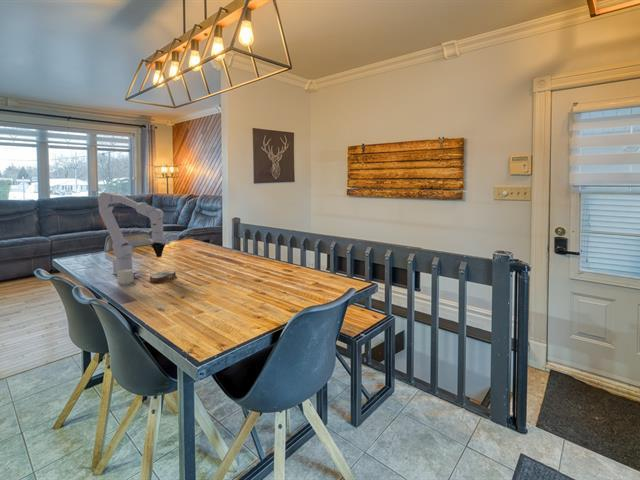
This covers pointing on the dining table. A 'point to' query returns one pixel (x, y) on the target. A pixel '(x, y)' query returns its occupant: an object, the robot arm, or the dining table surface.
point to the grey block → (125, 276)
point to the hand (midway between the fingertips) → (159, 256)
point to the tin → (162, 276)
